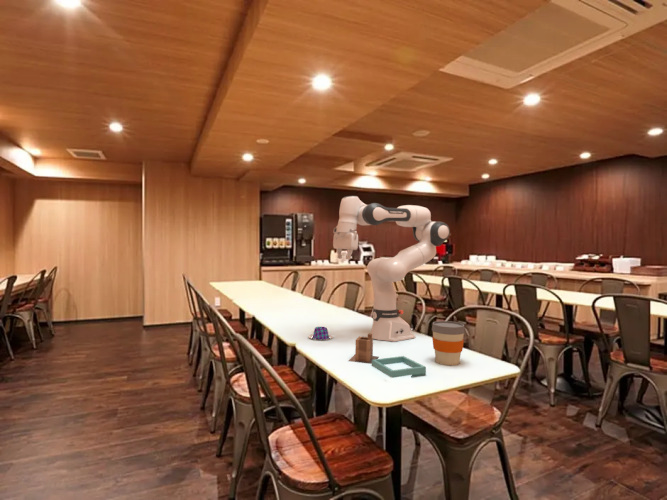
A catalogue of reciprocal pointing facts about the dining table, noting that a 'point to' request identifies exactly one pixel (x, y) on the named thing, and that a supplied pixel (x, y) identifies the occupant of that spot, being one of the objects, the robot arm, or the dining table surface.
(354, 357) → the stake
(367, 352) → the brown wooden holder
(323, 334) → the purple plaid hat
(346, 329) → the dining table surface
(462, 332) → the reusable coffee cup
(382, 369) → the tray
